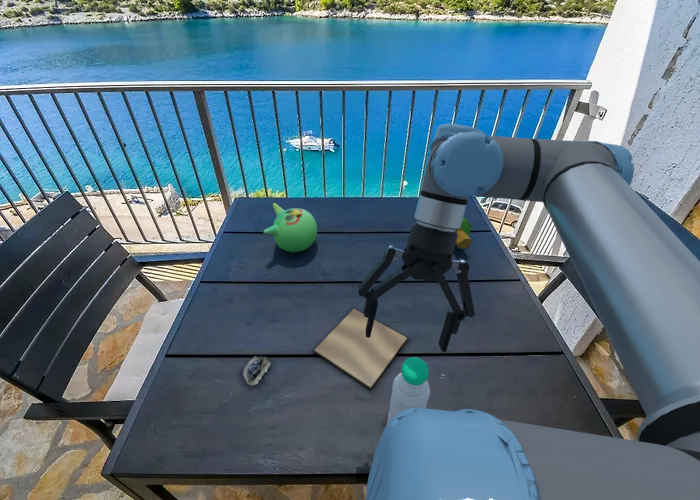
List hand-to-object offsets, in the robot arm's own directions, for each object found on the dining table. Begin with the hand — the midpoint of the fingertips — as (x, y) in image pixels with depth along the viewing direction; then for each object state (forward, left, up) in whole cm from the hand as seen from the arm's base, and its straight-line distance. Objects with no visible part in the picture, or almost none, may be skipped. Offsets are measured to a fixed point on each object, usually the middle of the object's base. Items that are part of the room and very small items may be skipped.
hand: (404, 341), depth 62 cm
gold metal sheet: (+11, +17, -28) cm, 34 cm away
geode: (-11, +34, -28) cm, 45 cm away
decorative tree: (+75, +20, -28) cm, 83 cm away
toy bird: (+33, +62, -28) cm, 75 cm away
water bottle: (-2, -3, -28) cm, 28 cm away
